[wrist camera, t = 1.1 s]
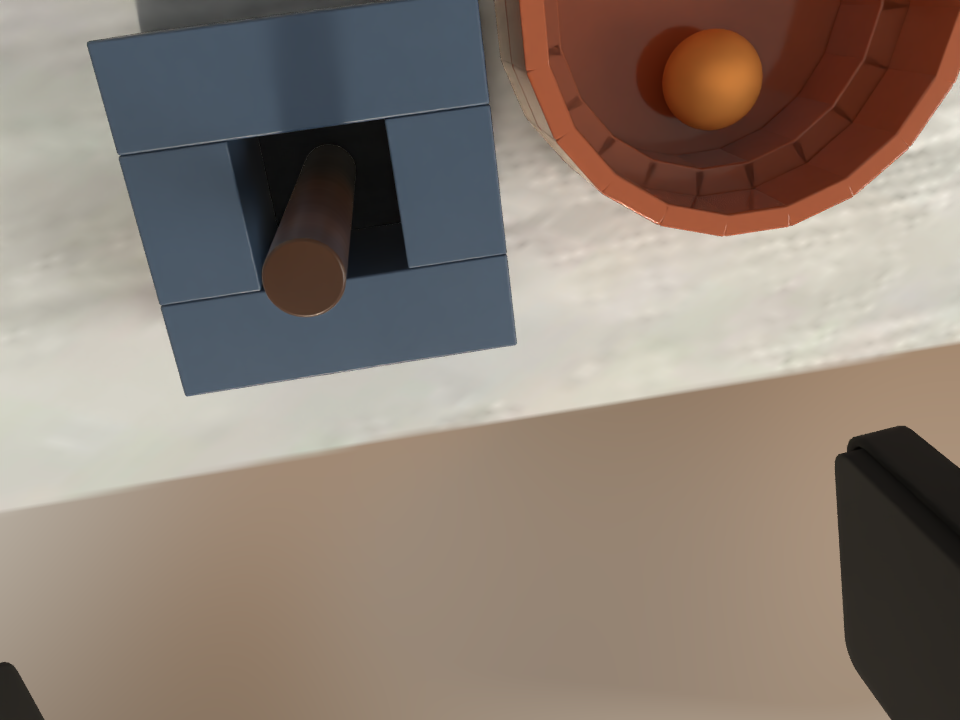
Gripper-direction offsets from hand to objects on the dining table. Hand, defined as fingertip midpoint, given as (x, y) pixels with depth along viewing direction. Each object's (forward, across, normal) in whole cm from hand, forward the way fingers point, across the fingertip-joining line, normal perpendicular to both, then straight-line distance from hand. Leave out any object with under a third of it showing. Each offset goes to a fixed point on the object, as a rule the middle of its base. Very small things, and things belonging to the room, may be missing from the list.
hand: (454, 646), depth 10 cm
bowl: (+24, -11, -4) cm, 27 cm away
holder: (+24, +2, -2) cm, 24 cm away
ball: (+21, -11, -2) cm, 24 cm away
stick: (+24, +2, -2) cm, 24 cm away
